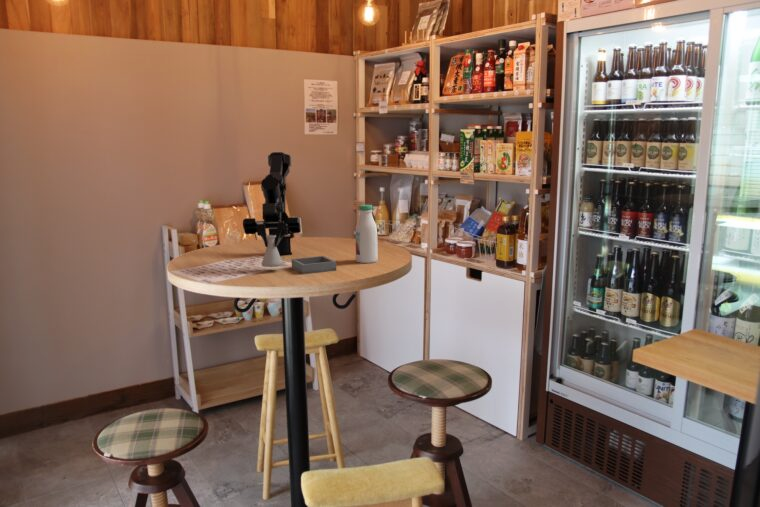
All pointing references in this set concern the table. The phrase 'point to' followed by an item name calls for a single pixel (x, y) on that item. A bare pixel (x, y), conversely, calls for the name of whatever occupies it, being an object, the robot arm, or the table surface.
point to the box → (313, 264)
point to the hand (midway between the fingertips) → (270, 246)
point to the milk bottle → (366, 236)
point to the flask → (271, 253)
